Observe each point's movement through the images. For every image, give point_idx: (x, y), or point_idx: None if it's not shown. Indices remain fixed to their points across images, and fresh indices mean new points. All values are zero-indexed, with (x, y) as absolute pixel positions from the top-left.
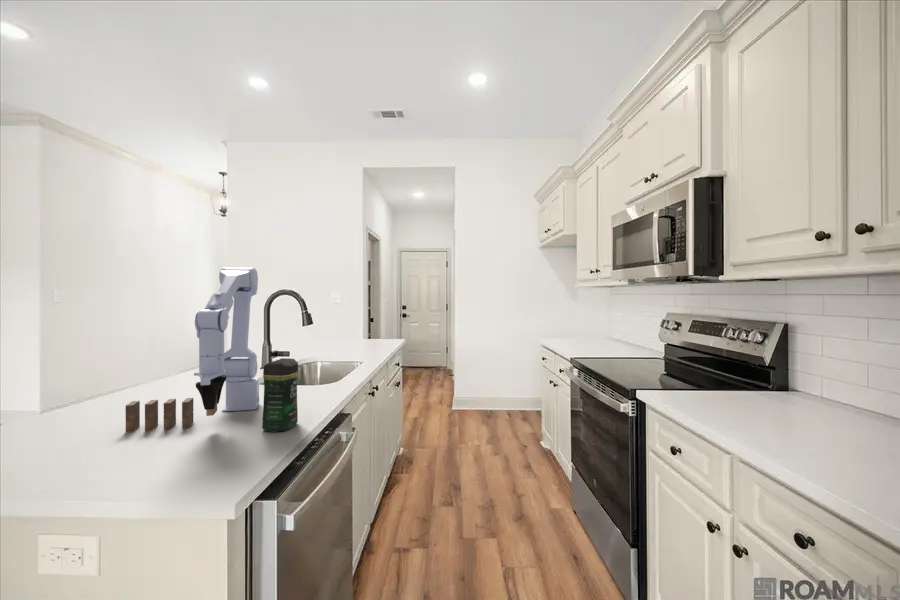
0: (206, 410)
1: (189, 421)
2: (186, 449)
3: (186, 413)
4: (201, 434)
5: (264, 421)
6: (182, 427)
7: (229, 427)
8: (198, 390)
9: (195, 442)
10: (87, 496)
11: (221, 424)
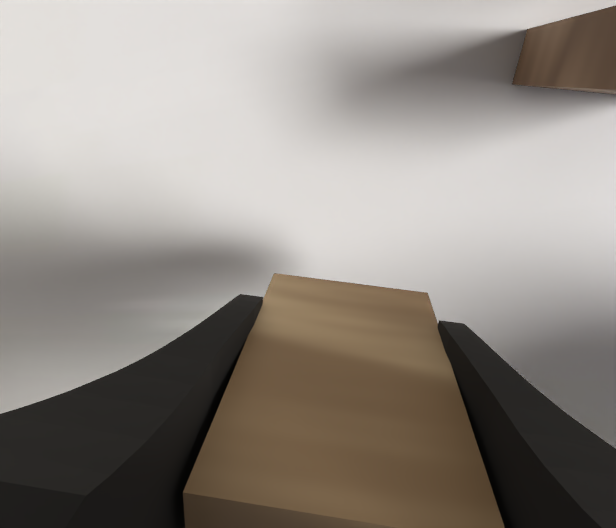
0: (265, 297)
1: (550, 87)
2: (43, 145)
3: (576, 62)
4: (302, 193)
5: None
6: (528, 32)
7: None
8: (21, 408)
9: (154, 177)
10: None
11: (475, 289)
